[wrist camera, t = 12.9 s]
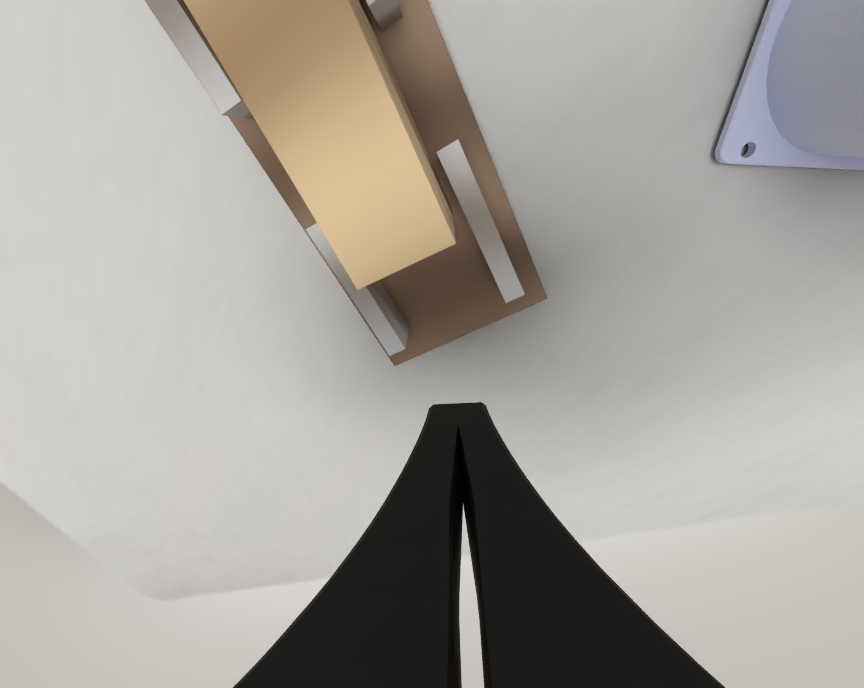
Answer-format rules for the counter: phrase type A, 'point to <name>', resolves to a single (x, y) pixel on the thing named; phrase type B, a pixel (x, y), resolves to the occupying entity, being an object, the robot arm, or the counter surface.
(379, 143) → the oak slat
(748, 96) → the robot arm
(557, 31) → the counter surface
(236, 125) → the board
